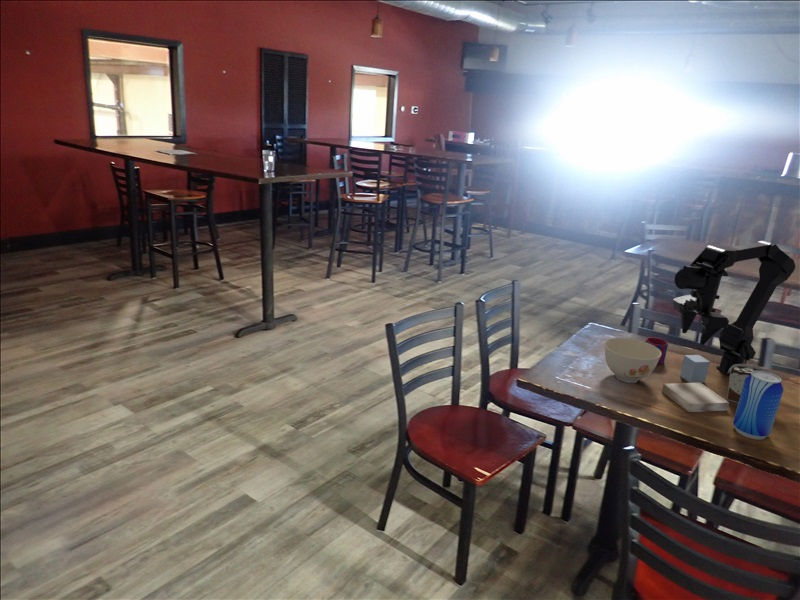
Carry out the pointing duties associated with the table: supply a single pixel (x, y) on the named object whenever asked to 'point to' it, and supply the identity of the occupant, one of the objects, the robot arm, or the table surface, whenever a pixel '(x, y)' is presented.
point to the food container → (739, 379)
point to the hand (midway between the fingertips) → (692, 338)
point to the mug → (659, 347)
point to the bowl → (630, 358)
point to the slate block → (694, 368)
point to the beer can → (758, 405)
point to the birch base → (695, 397)
